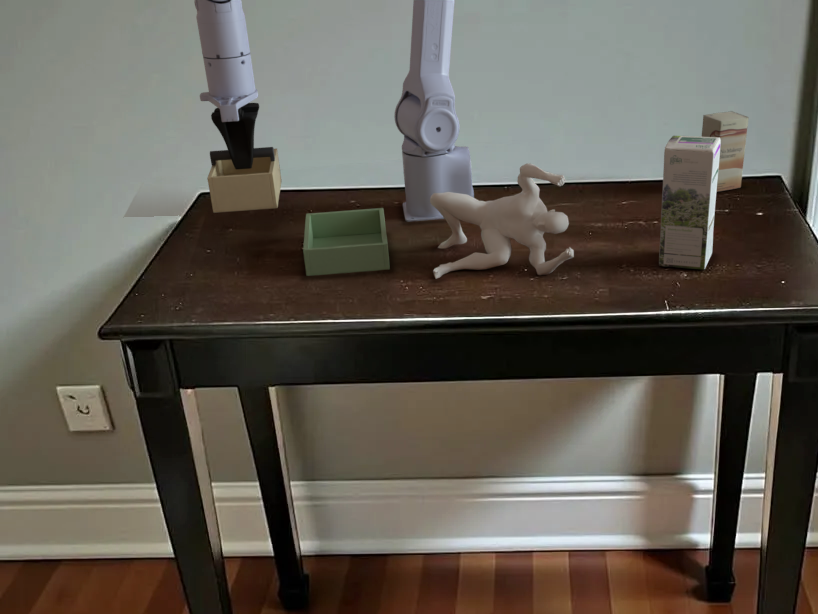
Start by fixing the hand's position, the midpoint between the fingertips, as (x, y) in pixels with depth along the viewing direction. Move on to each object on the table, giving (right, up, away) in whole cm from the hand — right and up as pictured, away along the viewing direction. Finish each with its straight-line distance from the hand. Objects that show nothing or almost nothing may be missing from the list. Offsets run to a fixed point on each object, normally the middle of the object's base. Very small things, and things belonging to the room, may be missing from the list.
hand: (244, 166), depth 137 cm
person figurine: (+33, -14, -5) cm, 36 cm away
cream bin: (0, -3, +2) cm, 4 cm away
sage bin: (+13, -12, 0) cm, 18 cm away
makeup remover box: (+65, +2, +18) cm, 68 cm away
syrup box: (+55, -14, -7) cm, 58 cm away
